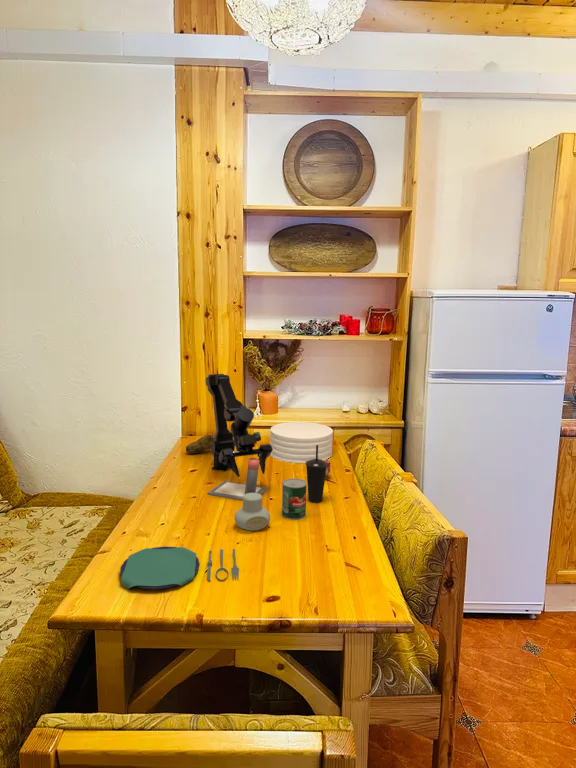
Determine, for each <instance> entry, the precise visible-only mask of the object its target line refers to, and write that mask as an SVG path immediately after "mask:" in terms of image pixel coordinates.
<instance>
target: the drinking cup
mask: <svg viewBox="0 0 576 768" xmlns="http://www.w3.org/2000/svg"><path fill="white" fill-rule="evenodd" d="M327 462H328V461H327ZM327 462H326V461H323V460H321V459H318V445H316V459H311V460H308V461H306V464H305V465H306V479H307V481H306V483H307V499H308V502H310V503H314V504H319V503H322V501H323V496H324V488H325V484H326V483H325V482H326V478H325V475H326V468H327V465H328V463H327Z"/></svg>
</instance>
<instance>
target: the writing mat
mask: <svg viewBox="0 0 576 768" xmlns="http://www.w3.org/2000/svg"><path fill="white" fill-rule="evenodd" d="M245 486H246V483H241V482H235V481H234V482H233V481H229V480H228V481H227V480H224V481H222V482H220V483H219V484H218V485H216V486H215V487H214V488H212V489H211V490H210V491H208V492H207V493H206V494H207V496H213V497H219V498H225V499H230V500H237V501H241V502H243V496H244V495H245ZM268 490H269V488H268V487H266V486H265V487H264V486H260V485H256V493H258V494H260V495H261V496H262V495H264V494H265V493H266V492H267V491H268Z"/></svg>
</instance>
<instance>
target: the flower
mask: <svg viewBox="0 0 576 768" xmlns="http://www.w3.org/2000/svg"><path fill="white" fill-rule="evenodd" d="M323 461H326V462H327V463H328V465H327V468H326V475H325V480H328V479H329V477H328V474H329V473H331V467H332V466H331V462H330V461H329V459H328V460H327V459H325V460H323Z"/></svg>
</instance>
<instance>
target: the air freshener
mask: <svg viewBox="0 0 576 768" xmlns="http://www.w3.org/2000/svg"><path fill="white" fill-rule="evenodd" d="M270 521H271V514H270V512H269V511H268V510H267V508H265V507H263V496H262V495H260V494H258V493H247V494H245V495H244V496H243V501H242V507H240V508H238V510H236V512H235V515H234V522H235V524H236V525H237V526H238V527H239V528H241V529H243V530H246V531H250V532H256V531H259V530H261V529H264V528H265V527H266V526H267V525H268V524H269V522H270Z"/></svg>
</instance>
